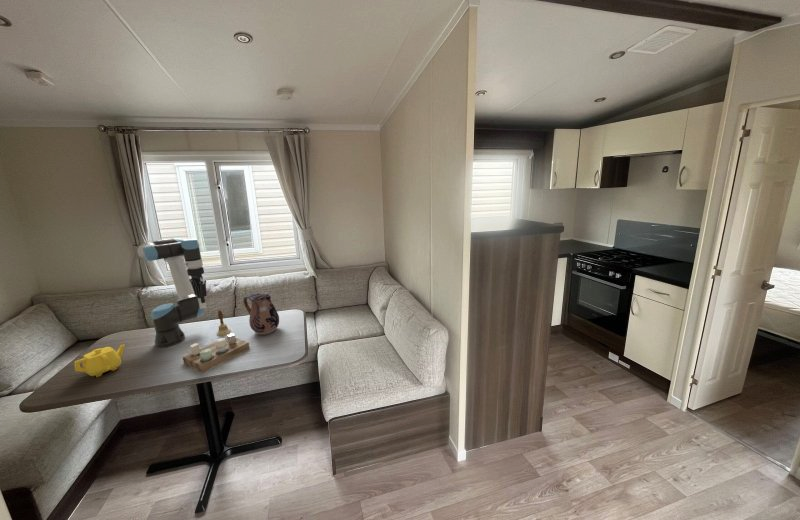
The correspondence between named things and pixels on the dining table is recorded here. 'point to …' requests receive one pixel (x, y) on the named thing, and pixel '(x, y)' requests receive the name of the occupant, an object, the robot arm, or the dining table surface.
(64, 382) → the dining table surface
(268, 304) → the ceramic pitcher
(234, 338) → the slider aluminium
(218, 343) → the button ivory
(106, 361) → the teapot
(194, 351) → the slider ivory
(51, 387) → the dining table surface
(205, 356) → the button sage
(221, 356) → the console
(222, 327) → the hand bell
